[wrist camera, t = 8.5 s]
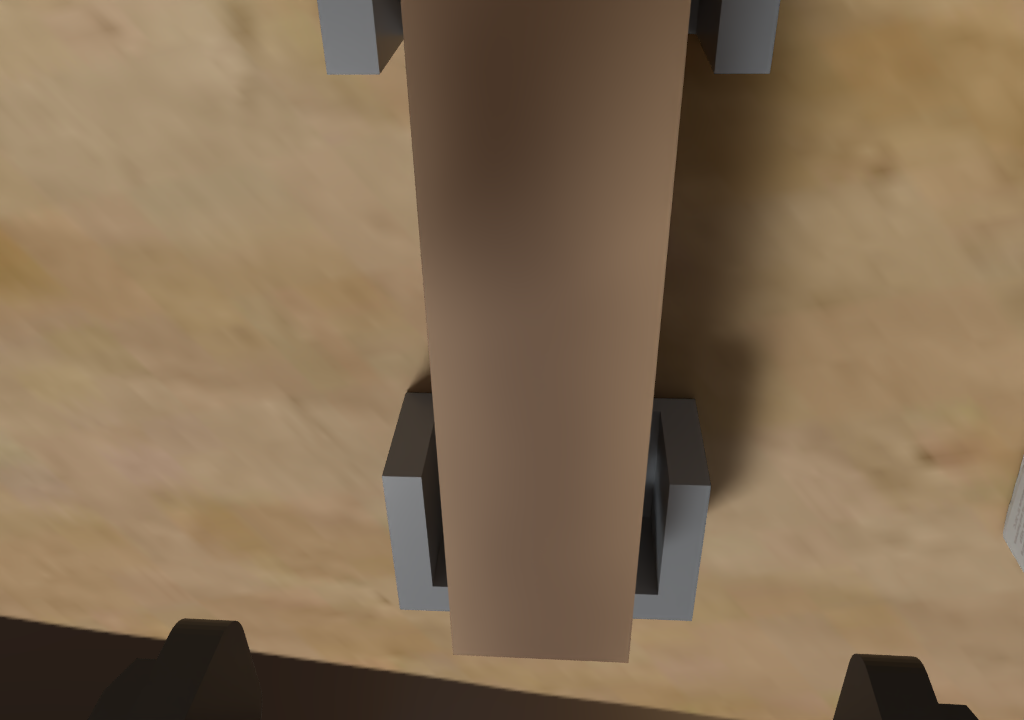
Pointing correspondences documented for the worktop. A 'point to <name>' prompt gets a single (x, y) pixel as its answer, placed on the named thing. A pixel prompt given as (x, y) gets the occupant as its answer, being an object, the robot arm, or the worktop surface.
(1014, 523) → the supplement box
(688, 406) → the endcap
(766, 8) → the endcap
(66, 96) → the worktop surface
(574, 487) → the brown wooden bar
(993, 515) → the worktop surface
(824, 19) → the worktop surface
